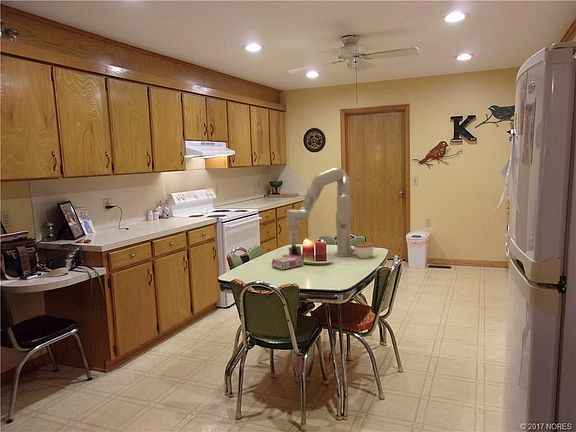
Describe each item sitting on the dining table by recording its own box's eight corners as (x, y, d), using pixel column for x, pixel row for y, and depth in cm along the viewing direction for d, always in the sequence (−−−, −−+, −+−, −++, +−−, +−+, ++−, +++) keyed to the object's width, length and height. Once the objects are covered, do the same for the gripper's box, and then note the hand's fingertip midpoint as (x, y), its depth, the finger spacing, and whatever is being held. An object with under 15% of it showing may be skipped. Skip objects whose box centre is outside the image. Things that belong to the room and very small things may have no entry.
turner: (300, 254, 310) (299, 245, 309) (301, 255, 305) (300, 247, 304) (282, 256, 310) (281, 248, 309) (282, 258, 305) (281, 249, 304)
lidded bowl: (372, 254, 301) (372, 238, 299) (374, 259, 288) (374, 242, 287) (353, 255, 302) (353, 239, 301) (354, 259, 289) (354, 243, 288)
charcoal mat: (295, 261, 294) (295, 260, 294) (297, 266, 279) (297, 265, 279) (271, 262, 293) (271, 262, 293) (272, 268, 279) (272, 267, 279)
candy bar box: (303, 257, 280) (282, 262, 270) (303, 264, 281) (283, 270, 271) (292, 254, 289) (271, 259, 279) (293, 261, 290) (272, 266, 280)
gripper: (299, 229, 297) (300, 256, 300) (297, 225, 313) (298, 251, 316) (288, 229, 297) (289, 256, 299) (286, 226, 313) (288, 251, 315)
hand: (294, 253), depth 307 cm, fingers closed on turner, 2 cm apart
